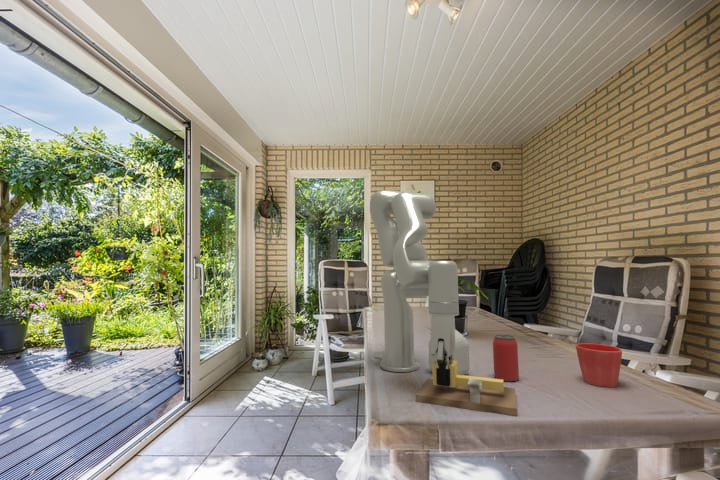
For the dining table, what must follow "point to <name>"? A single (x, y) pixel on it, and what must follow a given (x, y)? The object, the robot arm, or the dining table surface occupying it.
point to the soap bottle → (456, 354)
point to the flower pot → (599, 363)
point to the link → (467, 378)
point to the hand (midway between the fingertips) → (445, 380)
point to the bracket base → (469, 397)
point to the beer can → (505, 358)
